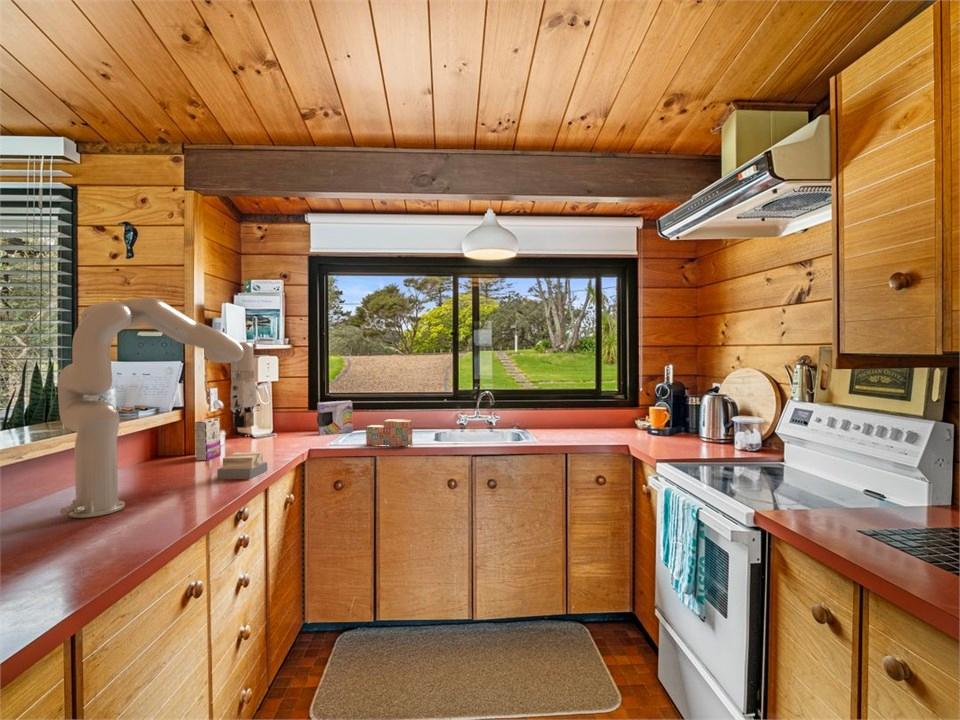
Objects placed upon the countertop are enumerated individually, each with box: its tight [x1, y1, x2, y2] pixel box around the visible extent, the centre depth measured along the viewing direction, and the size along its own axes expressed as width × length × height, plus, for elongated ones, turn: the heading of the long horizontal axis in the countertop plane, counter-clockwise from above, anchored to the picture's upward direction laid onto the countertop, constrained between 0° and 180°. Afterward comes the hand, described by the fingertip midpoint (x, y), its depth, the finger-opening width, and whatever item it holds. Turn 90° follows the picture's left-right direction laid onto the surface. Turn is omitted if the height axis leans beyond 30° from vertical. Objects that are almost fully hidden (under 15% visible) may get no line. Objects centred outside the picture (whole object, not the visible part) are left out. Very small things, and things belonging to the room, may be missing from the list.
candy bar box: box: [194, 417, 222, 461], centre depth 209 cm, size 11×5×16 cm, turn 0°
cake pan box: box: [316, 400, 354, 436], centre depth 269 cm, size 19×5×18 cm, turn 119°
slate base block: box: [216, 461, 268, 480], centre depth 179 cm, size 12×12×4 cm
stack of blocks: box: [365, 418, 413, 446], centre depth 234 cm, size 21×6×12 cm, turn 78°
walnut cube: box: [232, 411, 255, 429], centre depth 179 cm, size 5×5×5 cm
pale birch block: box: [222, 451, 264, 469], centre depth 179 cm, size 10×10×4 cm
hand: (243, 425), depth 179 cm, fingers closed on walnut cube, 4 cm apart
